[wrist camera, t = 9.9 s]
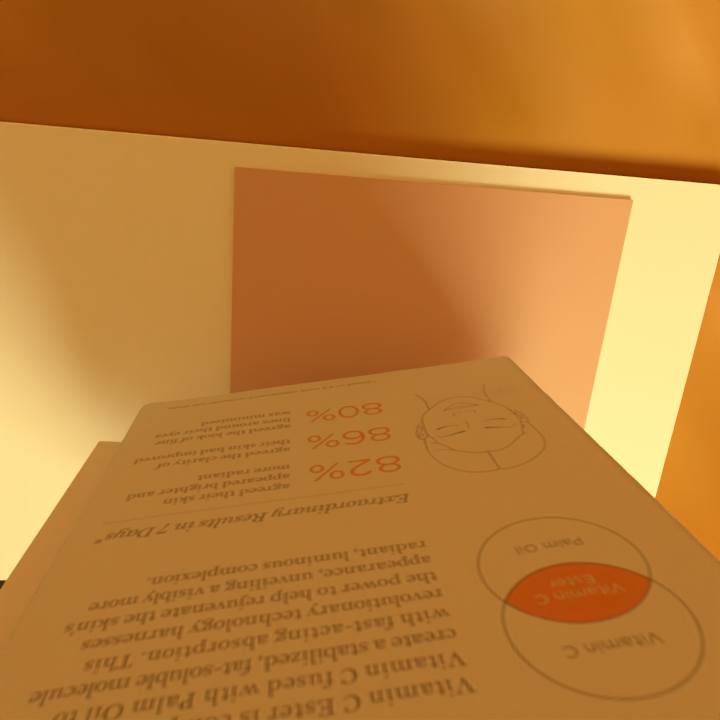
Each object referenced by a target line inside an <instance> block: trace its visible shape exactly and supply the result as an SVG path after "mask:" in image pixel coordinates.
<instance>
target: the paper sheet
mask: <svg viewBox="0 0 720 720" xmlns="http://www.w3.org/2000/svg"><path fill="white" fill-rule="evenodd" d="M719 254H720V185H719V184H707V183H696V182H685V181H673V180H662V179H650V178H639V177H628V176H616V175H605V174H594V173H582V172H571V171H559V170H548V169H537V168H525V167H514V166H503V165H491V164H480V163H468V162H457V161H446V160H434V159H423V158H412V157H400V156H389V155H377V154H366V153H355V152H343V151H332V150H321V149H309V148H298V147H286V146H275V145H264V144H252V143H241V142H230V141H218V140H207V139H195V138H184V137H173V136H161V135H150V134H139V133H127V132H116V131H104V130H93V129H82V128H70V127H59V126H48V125H36V124H25V123H13V122H2V121H0V580H7V579H8V577H9V576H10V574H11V573H12V571H13V570H14V568H15V567H16V565H17V564H18V562H19V561H20V559H21V558H22V556H23V555H24V553H25V552H26V550H27V549H28V547H29V546H30V544H31V543H32V541H33V540H34V538H35V537H36V535H37V534H38V532H39V531H40V529H41V528H42V526H43V525H44V523H45V522H46V520H47V519H48V517H49V516H50V514H51V513H52V511H53V510H54V508H55V507H56V505H57V504H58V502H59V501H60V499H61V498H62V496H63V495H64V493H65V492H66V490H67V489H68V487H69V486H70V484H71V483H72V481H73V480H74V478H75V477H76V475H77V474H78V472H79V471H80V469H81V468H82V466H83V465H84V463H85V462H86V460H87V459H88V457H89V456H90V454H91V453H92V451H93V450H94V448H95V447H96V445H97V444H98V442H99V441H111V442H122V441H123V439H124V437H125V435H126V434H127V432H128V430H129V428H130V426H131V425H132V423H133V421H134V419H135V417H136V416H137V414H138V413H139V411H140V409H141V408H142V407H143V406H144V405H146V404H150V403H156V402H167V401H175V400H183V399H190V398H198V397H206V396H213V395H221V394H229V393H236V392H243V391H250V390H258V389H265V388H272V387H279V386H287V385H295V384H302V383H310V382H317V381H325V380H332V379H340V378H348V377H355V376H363V375H371V374H378V373H385V372H392V371H399V370H407V369H415V368H423V367H430V366H437V365H445V364H453V363H461V362H467V361H474V360H481V359H488V358H494V357H499V356H505V357H509V358H510V359H512V360H513V361H514V362H515V364H516V365H517V366H519V367H520V368H521V369H522V370H523V371H524V372H525V373H526V374H527V375H528V376H529V377H530V378H531V379H532V380H533V381H534V382H535V383H536V384H537V385H538V386H539V387H540V388H541V389H542V390H543V391H544V392H545V393H546V394H547V395H549V396H550V397H551V398H552V399H553V400H554V401H555V403H556V404H557V405H559V406H560V407H561V408H562V409H563V410H564V411H565V412H566V413H567V414H568V415H569V416H570V417H571V418H572V419H573V420H574V421H575V422H576V423H577V424H578V425H579V426H580V427H582V428H583V429H584V430H585V431H586V432H587V433H588V434H589V435H590V436H591V437H592V438H593V439H594V440H595V441H596V442H597V443H598V444H599V445H600V446H601V447H602V448H603V449H604V450H605V451H606V452H608V453H609V454H610V455H611V456H612V457H613V458H614V459H615V460H616V461H617V462H618V463H619V464H620V465H621V466H622V467H623V468H624V469H625V470H626V471H627V472H628V473H629V474H630V475H631V476H633V477H634V478H635V479H636V480H637V481H638V482H639V483H640V484H641V485H642V486H643V487H644V488H645V489H646V490H647V491H648V492H649V493H650V494H651V495H652V496H653V497H654V498H655V496H656V493H657V489H658V485H659V481H660V477H661V474H662V470H663V466H664V462H665V458H666V455H667V451H668V447H669V443H670V439H671V436H672V432H673V428H674V424H675V420H676V417H677V413H678V409H679V405H680V402H681V398H682V394H683V390H684V386H685V383H686V379H687V375H688V371H689V367H690V364H691V360H692V356H693V352H694V348H695V345H696V341H697V337H698V333H699V329H700V326H701V322H702V318H703V314H704V311H705V307H706V303H707V299H708V295H709V292H710V288H711V284H712V280H713V276H714V273H715V269H716V265H717V261H718V257H719Z"/></svg>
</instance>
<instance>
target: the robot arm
mask: <svg viewBox="0 0 720 720" xmlns="http://www.w3.org/2000/svg"><path fill="white" fill-rule="evenodd" d="M120 444H121V442H111V441H99V442H98V444H97V445H96V447H95V448H94V450H93V451H92V453H91V454H90V456H89V457H88V459H87V460H86V462H85V463H84V465H83V466H82V468H81V469H80V471H79V472H78V474H77V475H76V477H75V478H74V480H73V481H72V483H71V484H70V486H69V487H68V489H67V490H66V492H65V493H64V495H63V496H62V498H61V499H60V501H59V502H58V504H57V505H56V507H55V508H54V510H53V511H52V513H51V514H50V516H49V517H48V519H47V520H46V522H45V523H44V525H43V526H42V528H41V529H40V531H39V532H38V534H37V535H36V537H35V538H34V540H33V541H32V543H31V544H30V546H29V547H28V549H27V550H26V552H25V553H24V555H23V556H22V558H21V559H20V561H19V562H18V564H17V565H16V567H15V568H14V570H13V571H12V573H11V574H10V576H9V577H8V579H7V580H0V652H1V650H2V648H3V647H4V645H5V643H6V642H7V640H8V638H9V636H10V634H11V632H12V630H13V628H14V627H15V625H16V623H17V622H18V620H19V619H20V617H21V615H22V614H23V612H24V610H25V608H26V607H27V605H28V603H29V601H30V600H31V598H32V596H33V594H34V593H35V591H36V589H37V587H38V586H39V584H40V582H41V580H42V579H43V577H44V575H45V574H46V572H47V570H48V569H49V567H50V565H51V564H52V562H53V560H54V558H55V556H56V555H57V553H58V551H59V549H60V547H61V545H62V544H63V542H64V541H65V539H66V538H67V536H68V534H69V533H70V531H71V529H72V527H73V526H74V524H75V522H76V520H77V518H78V517H79V515H80V513H81V511H82V510H83V508H84V506H85V504H86V503H87V501H88V499H89V497H90V496H91V494H92V492H93V490H94V489H95V487H96V485H97V484H98V482H99V480H100V479H101V477H102V475H103V473H104V472H105V470H106V468H107V467H108V465H109V463H110V462H111V460H112V458H113V456H114V454H115V453H116V451H117V449H118V447H119V446H120Z"/></svg>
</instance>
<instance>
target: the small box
mask: <svg viewBox="0 0 720 720" xmlns="http://www.w3.org/2000/svg"><path fill="white" fill-rule="evenodd" d="M0 720H720V561H719V560H718V559H717V558H716V557H715V556H714V555H713V554H712V553H711V552H710V551H709V550H708V549H707V548H706V547H704V546H703V545H702V544H701V543H700V542H699V541H698V540H697V539H696V538H695V537H694V536H693V535H692V534H691V533H690V531H689V530H688V529H687V528H686V527H684V526H683V525H682V524H681V523H680V522H679V521H678V520H677V519H676V518H675V517H673V516H672V515H671V514H670V513H669V512H668V511H667V510H666V509H665V508H664V507H663V506H662V505H661V504H660V503H659V502H658V501H657V500H656V499H655V498H654V497H653V496H652V495H651V494H650V493H649V492H648V491H647V490H646V489H645V488H644V487H643V486H642V485H641V484H640V483H639V482H638V481H637V480H636V479H635V478H634V477H633V476H631V475H630V474H629V473H628V472H627V471H626V470H625V469H624V468H623V467H622V466H621V465H620V464H619V463H618V462H617V461H616V460H615V459H614V458H613V457H612V456H611V455H610V454H609V453H608V452H606V451H605V450H604V449H603V448H602V447H601V446H600V445H599V444H598V443H597V442H596V441H595V440H594V439H593V438H592V437H591V436H590V435H589V434H588V433H587V432H586V431H585V430H584V429H583V428H582V427H580V426H579V425H578V424H577V423H576V422H575V421H574V420H573V419H572V418H571V417H570V416H569V415H568V414H567V413H566V412H565V411H564V410H563V409H562V408H561V407H560V406H559V405H557V404H556V403H555V401H554V400H553V399H552V398H551V397H550V396H549V395H547V394H546V393H545V392H544V391H543V390H542V389H541V388H540V387H539V386H538V385H537V384H536V383H535V382H534V381H533V380H532V379H531V378H530V377H529V376H528V375H527V374H526V373H525V372H524V371H523V370H522V369H521V368H520V367H519V366H517V365H516V364H515V362H514V361H513V360H512V359H510V358H509V357H505V356H499V357H494V358H488V359H481V360H474V361H467V362H461V363H453V364H445V365H437V366H430V367H423V368H415V369H407V370H399V371H392V372H385V373H378V374H371V375H363V376H355V377H348V378H340V379H332V380H325V381H317V382H310V383H302V384H295V385H287V386H279V387H272V388H265V389H258V390H250V391H243V392H236V393H229V394H221V395H213V396H206V397H198V398H190V399H183V400H175V401H167V402H156V403H150V404H146V405H144V406H143V407H142V408H141V409H140V411H139V413H138V414H137V416H136V417H135V419H134V421H133V423H132V425H131V426H130V428H129V430H128V432H127V434H126V435H125V437H124V439H123V441H122V442H121V444H120V446H119V447H118V449H117V451H116V453H115V454H114V456H113V458H112V460H111V462H110V463H109V465H108V467H107V468H106V470H105V472H104V473H103V475H102V477H101V479H100V480H99V482H98V484H97V485H96V487H95V489H94V490H93V492H92V494H91V496H90V497H89V499H88V501H87V503H86V504H85V506H84V508H83V510H82V511H81V513H80V515H79V517H78V518H77V520H76V522H75V524H74V526H73V527H72V529H71V531H70V533H69V534H68V536H67V538H66V539H65V541H64V542H63V544H62V545H61V547H60V549H59V551H58V553H57V555H56V556H55V558H54V560H53V562H52V564H51V565H50V567H49V569H48V570H47V572H46V574H45V575H44V577H43V579H42V580H41V582H40V584H39V586H38V587H37V589H36V591H35V593H34V594H33V596H32V598H31V600H30V601H29V603H28V605H27V607H26V608H25V610H24V612H23V614H22V615H21V617H20V619H19V620H18V622H17V623H16V625H15V627H14V628H13V630H12V632H11V634H10V636H9V638H8V640H7V642H6V643H5V645H4V647H3V648H2V650H1V652H0Z"/></svg>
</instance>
